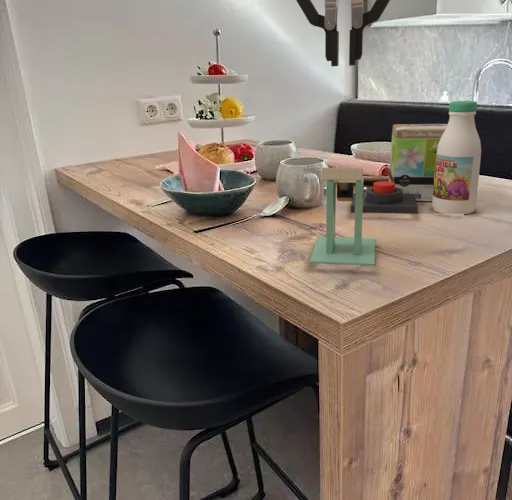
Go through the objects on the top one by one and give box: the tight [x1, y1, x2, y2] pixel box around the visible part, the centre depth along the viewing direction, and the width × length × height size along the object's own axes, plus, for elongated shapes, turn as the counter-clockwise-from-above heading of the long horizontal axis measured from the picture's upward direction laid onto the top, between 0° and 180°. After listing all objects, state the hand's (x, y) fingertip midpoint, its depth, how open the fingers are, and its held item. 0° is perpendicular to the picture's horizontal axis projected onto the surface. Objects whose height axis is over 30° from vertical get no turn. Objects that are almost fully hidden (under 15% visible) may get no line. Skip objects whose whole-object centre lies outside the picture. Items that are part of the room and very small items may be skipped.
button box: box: [350, 186, 419, 215], centre depth 97 cm, size 12×10×4 cm
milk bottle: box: [431, 100, 482, 215], centre depth 92 cm, size 8×8×20 cm
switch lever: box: [320, 167, 364, 202], centre depth 67 cm, size 12×5×2 cm, turn 167°
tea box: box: [388, 123, 448, 202], centre depth 103 cm, size 15×10×15 cm, turn 80°
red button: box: [372, 180, 395, 193], centre depth 96 cm, size 4×4×2 cm
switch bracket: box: [309, 175, 376, 267], centre depth 73 cm, size 11×9×12 cm
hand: (343, 65), depth 58 cm, fingers closed
